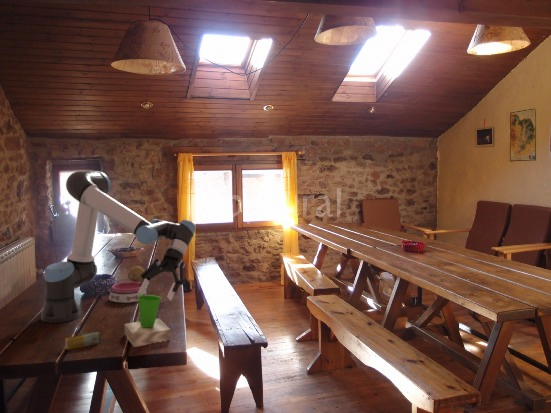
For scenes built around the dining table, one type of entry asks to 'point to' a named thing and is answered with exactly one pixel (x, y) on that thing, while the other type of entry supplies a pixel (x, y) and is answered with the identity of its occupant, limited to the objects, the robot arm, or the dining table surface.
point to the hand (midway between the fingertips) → (154, 296)
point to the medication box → (82, 340)
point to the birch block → (147, 333)
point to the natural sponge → (135, 274)
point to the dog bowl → (125, 292)
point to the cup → (148, 309)
